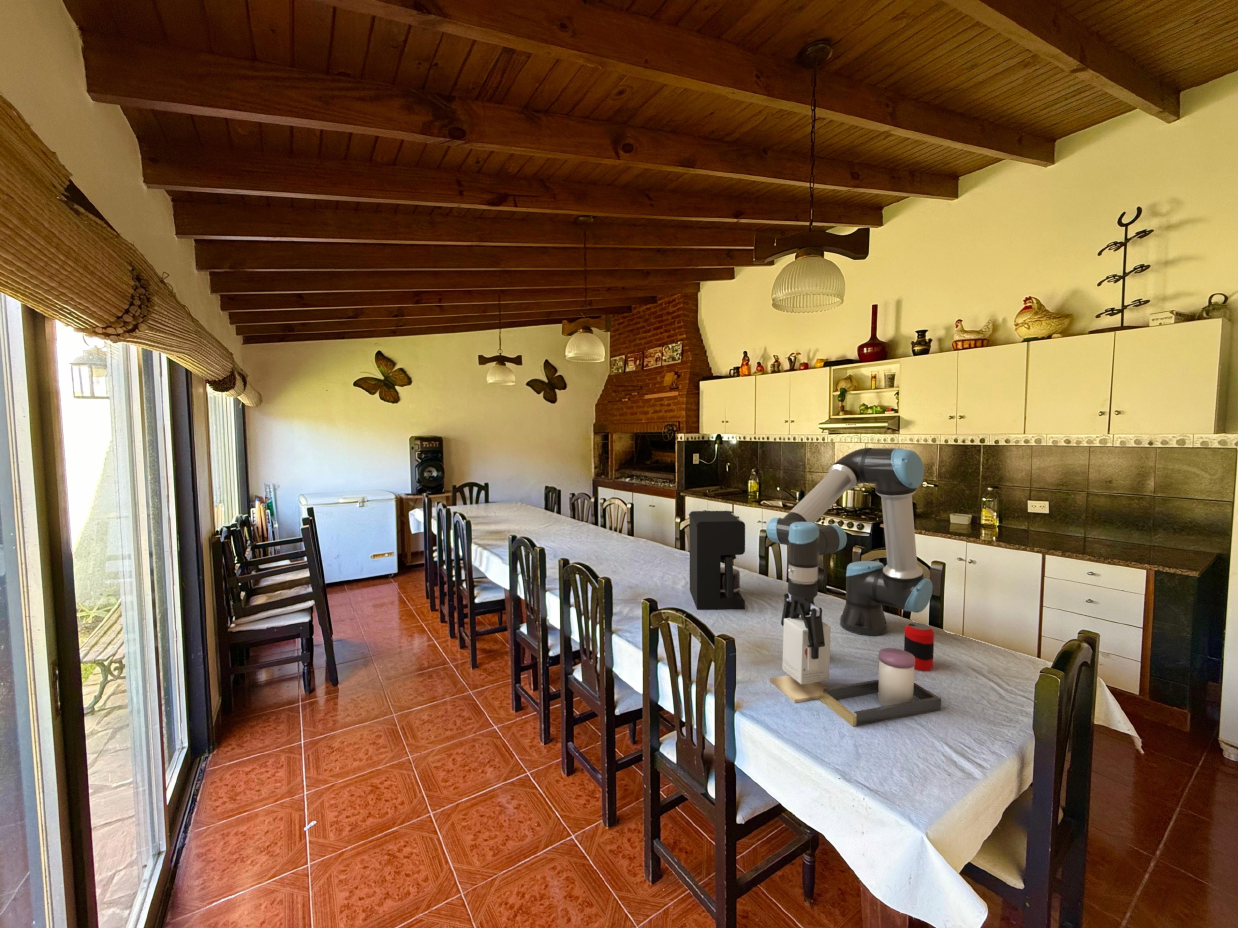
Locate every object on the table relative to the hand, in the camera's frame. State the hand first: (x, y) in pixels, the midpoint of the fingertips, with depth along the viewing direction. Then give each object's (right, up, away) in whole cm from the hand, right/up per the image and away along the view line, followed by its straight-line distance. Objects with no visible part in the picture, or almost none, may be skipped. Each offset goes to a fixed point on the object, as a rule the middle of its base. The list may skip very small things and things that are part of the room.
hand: (801, 661), depth 143 cm
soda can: (+39, -6, +13) cm, 42 cm away
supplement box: (+1, -4, +1) cm, 4 cm away
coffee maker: (-10, -2, +71) cm, 72 cm away
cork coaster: (0, -8, +1) cm, 8 cm away
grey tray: (+17, -8, -8) cm, 21 cm away
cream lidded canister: (+22, -8, -7) cm, 24 cm away
